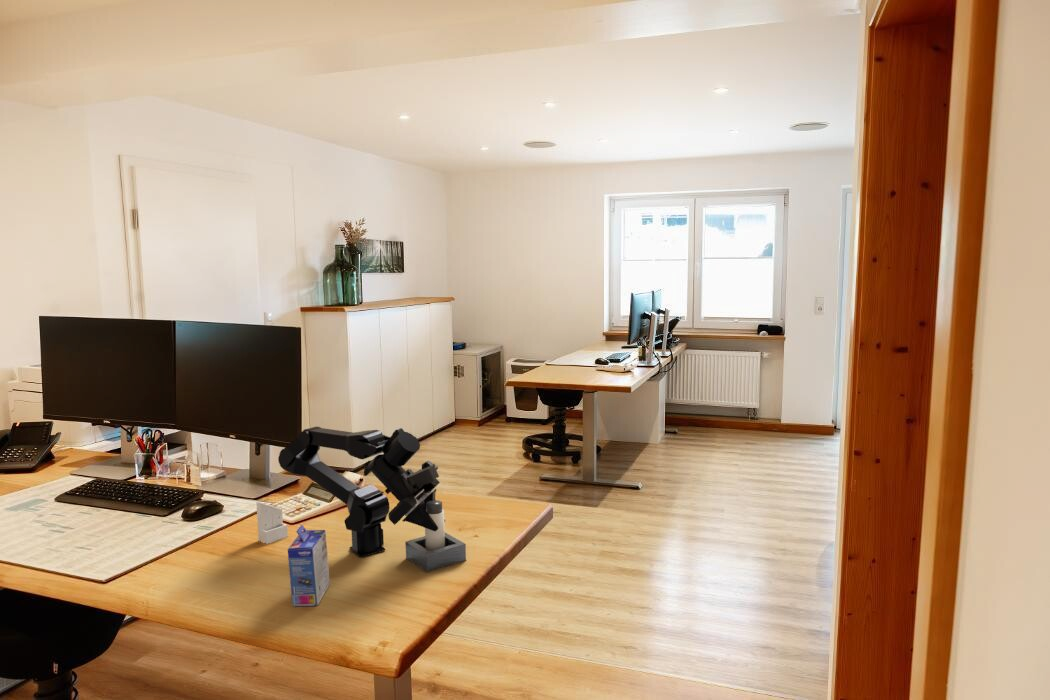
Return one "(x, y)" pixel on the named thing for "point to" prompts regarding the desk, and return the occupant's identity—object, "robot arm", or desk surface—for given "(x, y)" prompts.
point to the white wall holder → (270, 523)
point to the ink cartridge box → (308, 567)
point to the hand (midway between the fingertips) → (440, 526)
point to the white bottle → (437, 514)
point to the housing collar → (435, 553)
